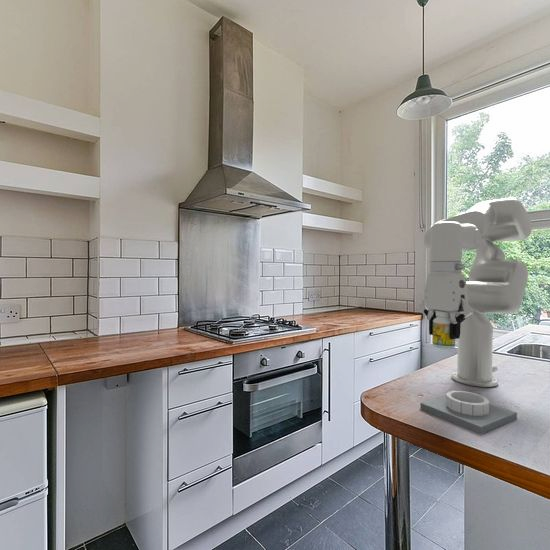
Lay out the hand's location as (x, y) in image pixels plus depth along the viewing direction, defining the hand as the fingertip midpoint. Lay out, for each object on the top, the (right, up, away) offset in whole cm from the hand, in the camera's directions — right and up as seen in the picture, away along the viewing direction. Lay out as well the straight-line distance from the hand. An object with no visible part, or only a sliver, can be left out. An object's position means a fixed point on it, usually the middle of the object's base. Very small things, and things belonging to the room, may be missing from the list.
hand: (443, 335), depth 89 cm
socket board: (+2, -18, -7) cm, 19 cm away
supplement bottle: (0, -3, 0) cm, 3 cm away
